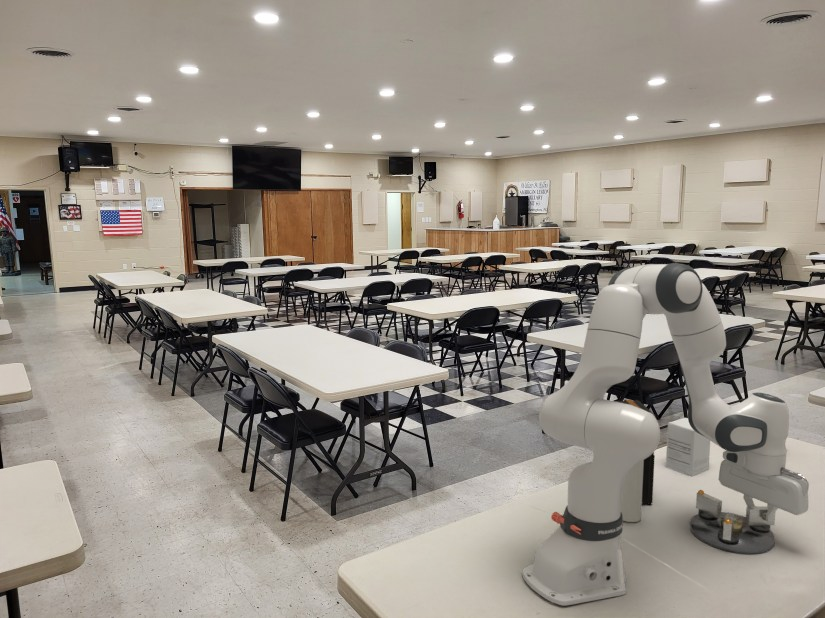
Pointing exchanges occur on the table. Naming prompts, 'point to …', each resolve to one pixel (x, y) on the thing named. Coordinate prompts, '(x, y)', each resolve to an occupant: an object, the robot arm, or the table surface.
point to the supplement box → (686, 449)
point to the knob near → (728, 530)
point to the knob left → (708, 506)
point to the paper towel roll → (632, 494)
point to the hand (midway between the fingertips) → (759, 516)
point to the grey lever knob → (758, 519)
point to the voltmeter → (645, 462)
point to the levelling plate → (745, 537)
